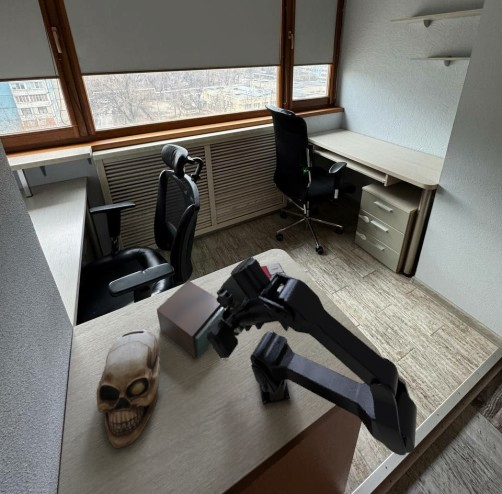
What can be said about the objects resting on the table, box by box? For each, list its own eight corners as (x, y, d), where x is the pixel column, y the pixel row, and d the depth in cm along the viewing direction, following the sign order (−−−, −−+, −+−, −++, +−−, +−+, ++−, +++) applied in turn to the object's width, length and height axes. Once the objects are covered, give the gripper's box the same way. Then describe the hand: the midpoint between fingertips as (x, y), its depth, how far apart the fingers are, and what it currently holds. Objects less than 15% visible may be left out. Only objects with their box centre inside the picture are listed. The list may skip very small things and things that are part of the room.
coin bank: (116, 458, 53) (102, 413, 49) (89, 393, 65) (76, 352, 61) (184, 392, 64) (176, 351, 60) (150, 346, 76) (142, 309, 72)
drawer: (228, 326, 78) (228, 309, 75) (203, 360, 69) (201, 342, 66) (194, 303, 85) (192, 286, 82) (167, 332, 76) (164, 314, 73)
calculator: (279, 260, 98) (296, 292, 84) (278, 270, 99) (296, 302, 86) (250, 267, 95) (263, 301, 82) (250, 276, 97) (263, 311, 83)
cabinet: (223, 323, 80) (222, 301, 76) (194, 359, 70) (192, 336, 67) (190, 301, 87) (188, 280, 83) (160, 331, 77) (156, 309, 74)
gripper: (261, 251, 65) (227, 266, 75) (211, 309, 51) (176, 318, 61) (289, 289, 64) (250, 300, 74) (245, 359, 50) (204, 361, 60)
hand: (223, 317), depth 67 cm, fingers closed
